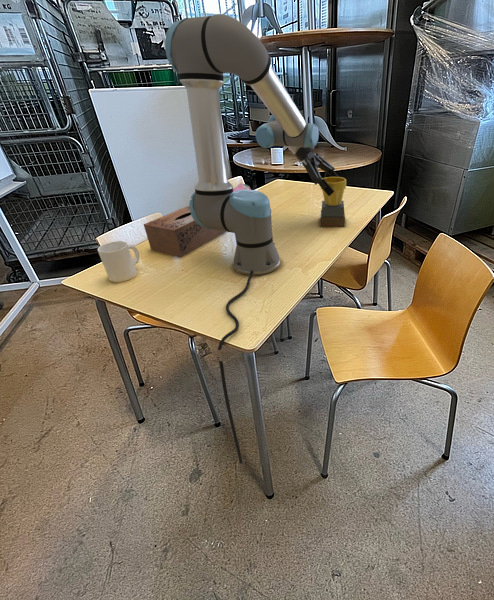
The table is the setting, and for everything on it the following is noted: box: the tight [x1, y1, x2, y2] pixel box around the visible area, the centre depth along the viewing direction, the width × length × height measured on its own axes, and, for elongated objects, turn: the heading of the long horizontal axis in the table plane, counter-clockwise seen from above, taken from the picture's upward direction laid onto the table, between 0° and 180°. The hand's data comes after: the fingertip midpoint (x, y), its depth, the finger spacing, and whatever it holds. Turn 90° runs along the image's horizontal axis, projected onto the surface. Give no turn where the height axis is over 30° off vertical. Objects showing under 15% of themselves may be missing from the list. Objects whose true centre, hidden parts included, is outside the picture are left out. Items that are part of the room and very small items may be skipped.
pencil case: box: [233, 182, 252, 192], centre depth 162 cm, size 21×9×9 cm, turn 162°
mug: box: [97, 240, 140, 283], centre depth 105 cm, size 12×8×10 cm
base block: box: [319, 209, 346, 228], centre depth 141 cm, size 10×10×4 cm
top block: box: [321, 200, 345, 217], centre depth 139 cm, size 9×9×4 cm
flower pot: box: [320, 176, 347, 206], centre depth 136 cm, size 10×10×10 cm
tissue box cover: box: [143, 205, 226, 258], centre depth 127 cm, size 26×14×10 cm, turn 154°
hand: (336, 189), depth 134 cm, fingers open, 13 cm apart
